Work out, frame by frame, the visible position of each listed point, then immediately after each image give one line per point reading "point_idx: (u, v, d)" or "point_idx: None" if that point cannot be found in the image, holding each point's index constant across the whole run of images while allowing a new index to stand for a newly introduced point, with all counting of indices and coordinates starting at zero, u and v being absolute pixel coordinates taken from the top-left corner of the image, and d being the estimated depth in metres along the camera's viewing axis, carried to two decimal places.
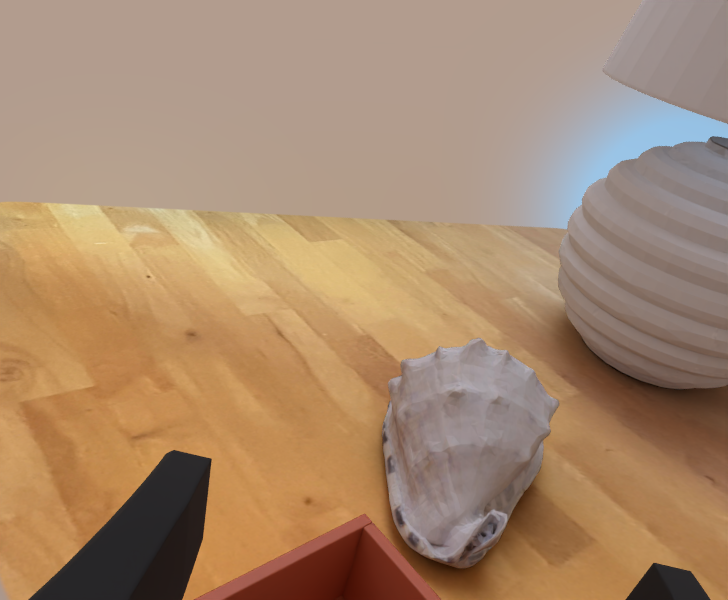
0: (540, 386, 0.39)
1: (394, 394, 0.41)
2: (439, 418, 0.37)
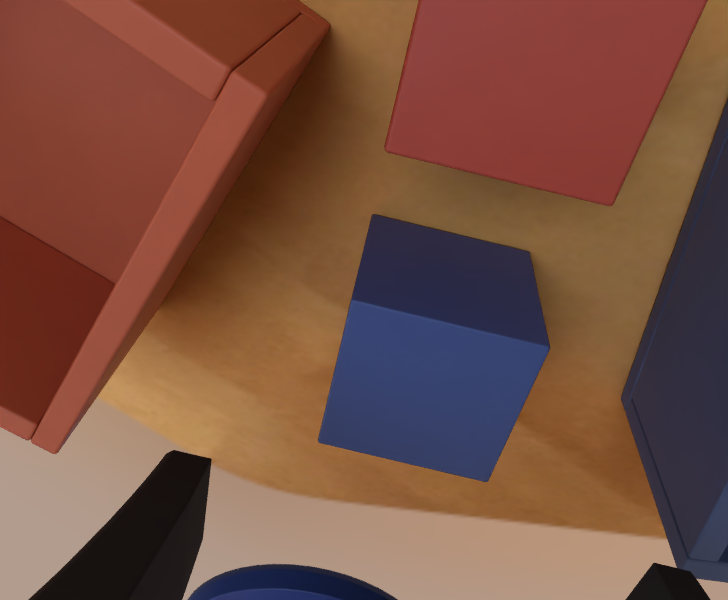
0: None
1: None
2: None
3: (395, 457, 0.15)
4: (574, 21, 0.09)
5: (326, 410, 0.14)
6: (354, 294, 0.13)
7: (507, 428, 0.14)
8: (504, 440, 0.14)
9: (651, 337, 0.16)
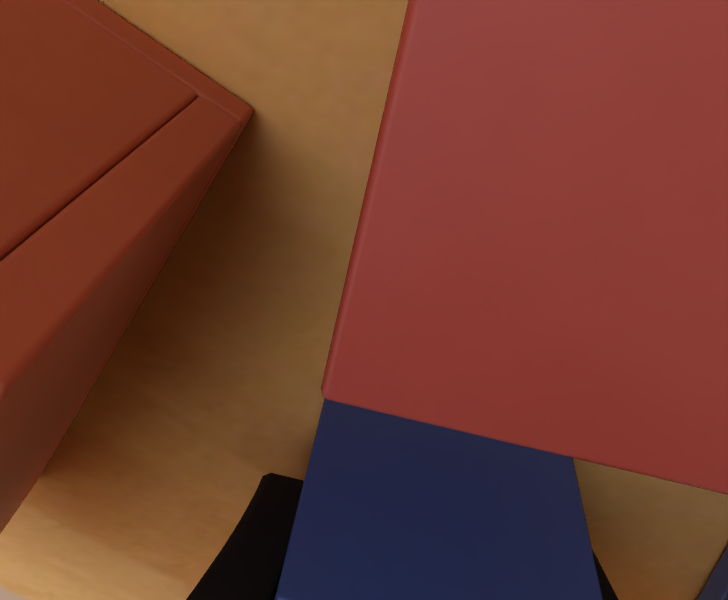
0: None
1: None
2: None
3: None
4: None
5: None
6: (282, 581, 0.07)
7: None
8: None
9: None
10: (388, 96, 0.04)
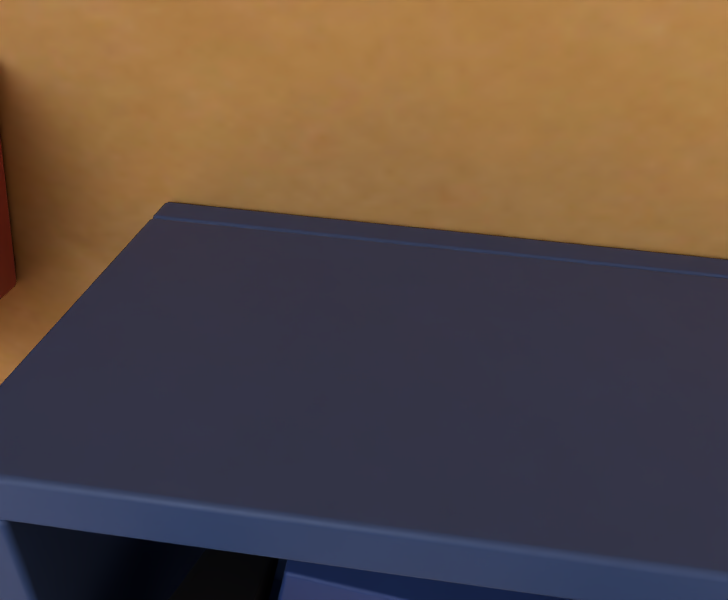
0: None
1: None
2: None
3: None
4: None
5: None
6: None
7: None
8: None
9: None
10: None
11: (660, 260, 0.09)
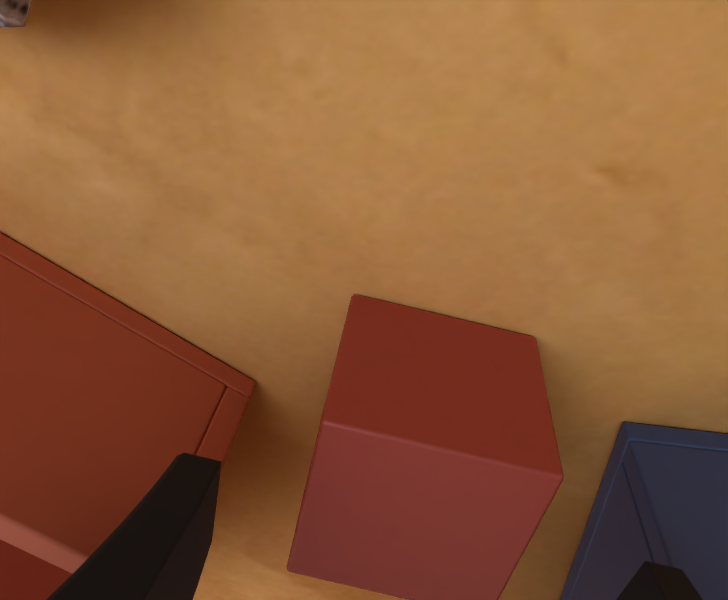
0: None
1: None
2: None
3: None
4: (438, 510, 0.11)
5: None
6: None
7: None
8: None
9: None
10: (308, 475, 0.11)
11: None
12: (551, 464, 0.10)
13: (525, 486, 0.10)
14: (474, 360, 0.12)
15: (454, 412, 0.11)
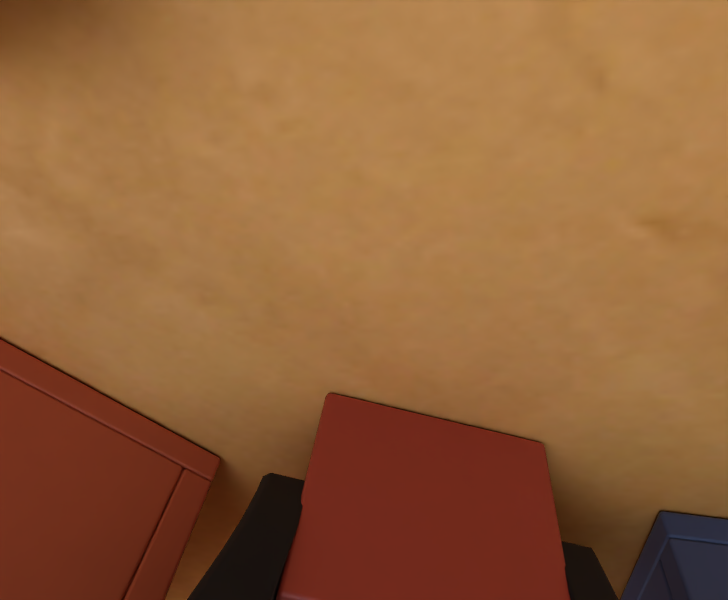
0: None
1: None
2: None
3: None
4: None
5: None
6: None
7: None
8: None
9: None
10: None
11: None
12: None
13: None
14: (471, 483, 0.10)
15: (446, 567, 0.09)
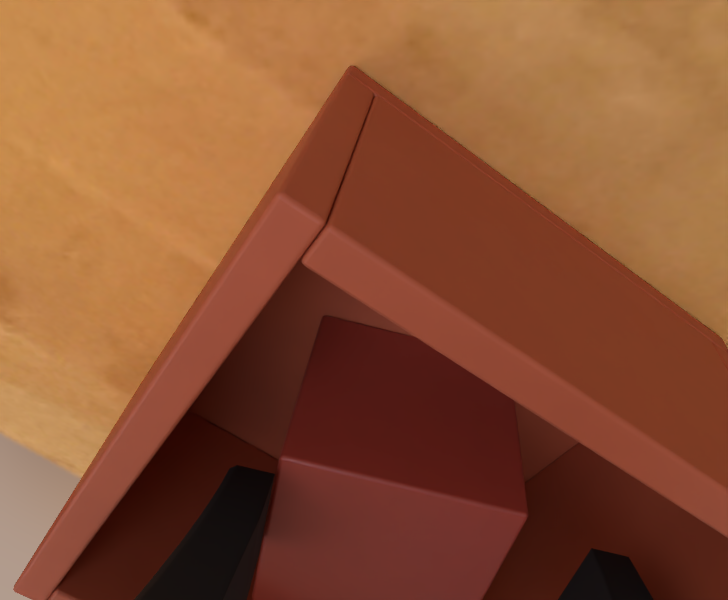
0: None
1: None
2: None
3: None
4: (402, 544, 0.11)
5: None
6: None
7: None
8: None
9: None
10: (269, 508, 0.11)
11: None
12: (516, 501, 0.10)
13: (490, 523, 0.10)
14: (444, 387, 0.12)
15: (419, 445, 0.11)
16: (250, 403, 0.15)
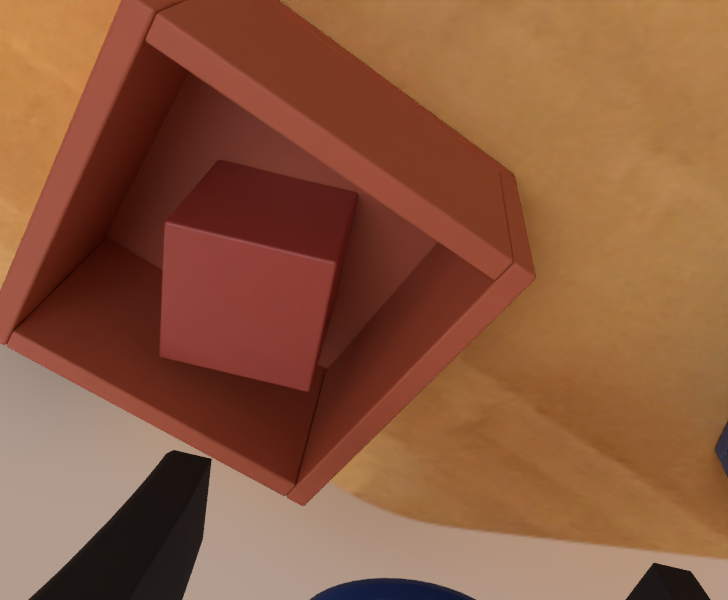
0: None
1: None
2: None
3: None
4: (256, 294, 0.15)
5: None
6: None
7: None
8: None
9: None
10: (163, 270, 0.15)
11: None
12: (330, 255, 0.15)
13: (312, 271, 0.15)
14: (299, 201, 0.17)
15: (268, 225, 0.15)
16: None
